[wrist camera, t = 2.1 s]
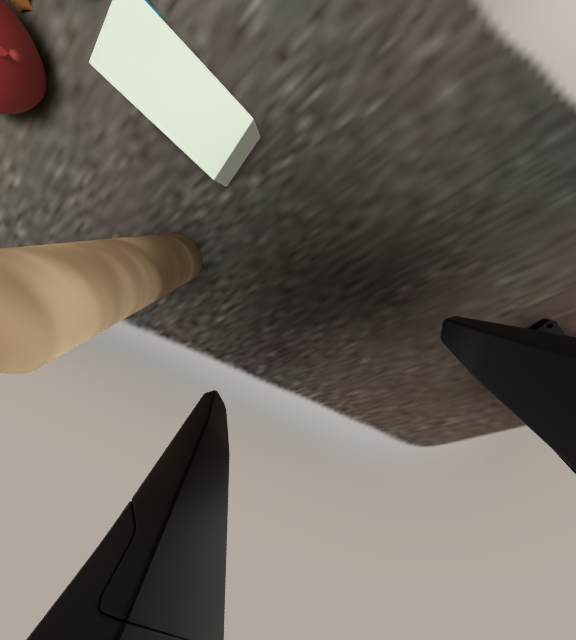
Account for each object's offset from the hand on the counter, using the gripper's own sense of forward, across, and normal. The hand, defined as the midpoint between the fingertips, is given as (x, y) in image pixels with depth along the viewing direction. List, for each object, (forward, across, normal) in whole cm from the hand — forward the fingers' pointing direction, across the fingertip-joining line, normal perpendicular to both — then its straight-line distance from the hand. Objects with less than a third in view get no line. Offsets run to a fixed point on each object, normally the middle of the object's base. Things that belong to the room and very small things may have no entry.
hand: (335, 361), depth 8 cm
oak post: (+14, +8, -3) cm, 17 cm away
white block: (+14, +3, -11) cm, 18 cm away
